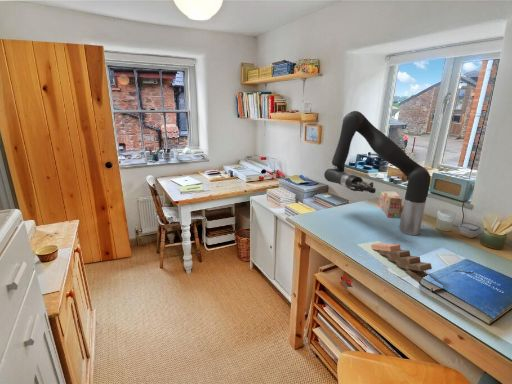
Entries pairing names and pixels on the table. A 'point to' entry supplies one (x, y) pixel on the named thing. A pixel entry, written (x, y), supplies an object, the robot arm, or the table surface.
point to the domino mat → (383, 258)
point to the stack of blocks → (390, 204)
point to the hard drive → (449, 258)
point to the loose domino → (386, 247)
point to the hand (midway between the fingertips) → (374, 191)
